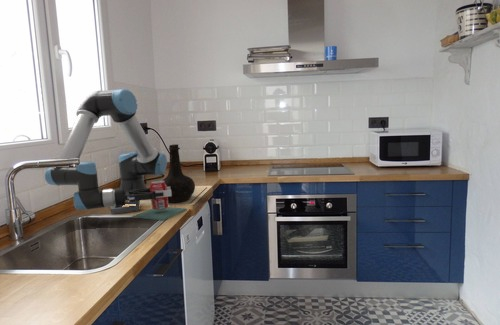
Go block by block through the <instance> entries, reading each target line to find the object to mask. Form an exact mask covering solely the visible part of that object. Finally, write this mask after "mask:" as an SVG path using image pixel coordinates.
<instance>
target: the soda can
mask: <svg viewBox="0 0 500 325" xmlns="http://www.w3.org/2000/svg"><path fill="white" fill-rule="evenodd" d="M150 183H151V184H150V186H149V188H150V192H155V191H162V190H167V185H166V183H165V181H163V179H162V180H161V179H160V180H152V181H150ZM155 193H156V192H155ZM150 202H151V204H150V205H151V209H152V208H153V209H154V210H164V209H166V208H167V207H169V202H168V197H159V198H156V200H154V199H151V200H150Z"/></svg>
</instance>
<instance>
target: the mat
mask: <svg viewBox="0 0 500 325" xmlns="http://www.w3.org/2000/svg"><path fill="white" fill-rule="evenodd" d="M187 210H188V209H187V208H185V207H173V206H171V207H170V206H168V207H167V208H166V209H164V210H154V209H153V208H152V207H151V208H150V209H147V210H145V211H143V212H142V211H141V212H139V213H137V214H134V215H133V219H134V218H135V219H145V220H155V221H166V220H168V219H170V218H173V217H174V216H177V215H180V214H181V213H184V212H186V211H187Z"/></svg>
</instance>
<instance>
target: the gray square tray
mask: <svg viewBox="0 0 500 325" xmlns="http://www.w3.org/2000/svg"><path fill="white" fill-rule="evenodd" d="M140 201H141V200H140ZM140 201H132V202H129V201H126V203H125V204H136V206H129V207H122V206H123V205H121V206H116V205H115V206H111V207H110V214H111V215H115V214H123V213H132V212H139V211H140V209H139V205H140V206H141V204H140V203H141V202H140Z"/></svg>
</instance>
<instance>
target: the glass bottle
mask: <svg viewBox="0 0 500 325" xmlns="http://www.w3.org/2000/svg"><path fill="white" fill-rule="evenodd" d="M168 147H169V148H168V150H169V169H168V174H167V175H166V177H165V178H163V179H162V180H163V181H165V183H166V185H167V187H170V189H171V193H172V196H168V203H181V202H185V201H187V200H189V199H190V198H191V197H192V196H193V195H194V193H195V189H196V184H195V181H194V180H193V178H191V177H190V176H187V175H185V174H184V173H183V170H182V166H181V160H180V153H179V152H180V151H179V150H180V147H179V144H178V143H177V144H169V146H168ZM180 201H181V202H180Z"/></svg>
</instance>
